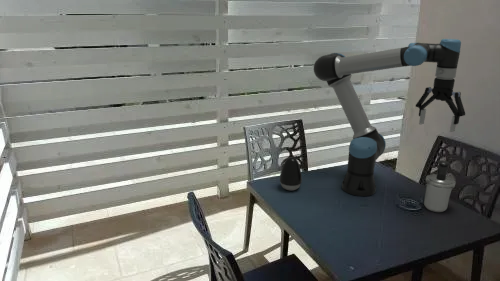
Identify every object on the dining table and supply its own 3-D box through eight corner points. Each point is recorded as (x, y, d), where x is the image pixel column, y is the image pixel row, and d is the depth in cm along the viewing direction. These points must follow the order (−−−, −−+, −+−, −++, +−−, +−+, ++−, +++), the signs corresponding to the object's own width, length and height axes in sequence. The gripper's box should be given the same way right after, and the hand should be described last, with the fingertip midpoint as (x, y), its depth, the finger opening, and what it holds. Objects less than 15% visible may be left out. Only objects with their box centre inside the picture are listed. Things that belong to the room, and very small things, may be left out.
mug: (436, 215, 153) (441, 190, 150) (418, 205, 161) (422, 181, 157) (456, 208, 158) (461, 184, 155) (438, 199, 166) (442, 176, 162)
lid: (420, 181, 157) (423, 161, 155) (434, 175, 164) (437, 155, 161) (446, 190, 149) (450, 169, 146) (460, 183, 155) (464, 163, 152)
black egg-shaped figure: (305, 186, 177) (307, 156, 173) (295, 195, 169) (297, 163, 164) (285, 181, 183) (287, 151, 178) (275, 189, 174) (276, 158, 170)
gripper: (411, 74, 163) (404, 122, 170) (472, 83, 144) (461, 136, 151) (421, 73, 168) (414, 119, 174) (481, 81, 149) (470, 133, 155)
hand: (436, 127), depth 163 cm, fingers open, 13 cm apart
